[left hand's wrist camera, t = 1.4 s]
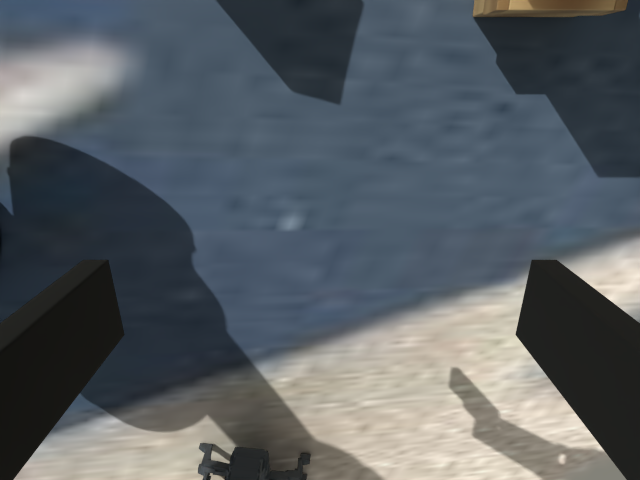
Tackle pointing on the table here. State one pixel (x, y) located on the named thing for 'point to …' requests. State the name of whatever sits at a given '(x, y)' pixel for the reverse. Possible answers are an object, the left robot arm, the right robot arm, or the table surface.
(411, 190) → the table surface
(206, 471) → the toy
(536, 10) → the holder
